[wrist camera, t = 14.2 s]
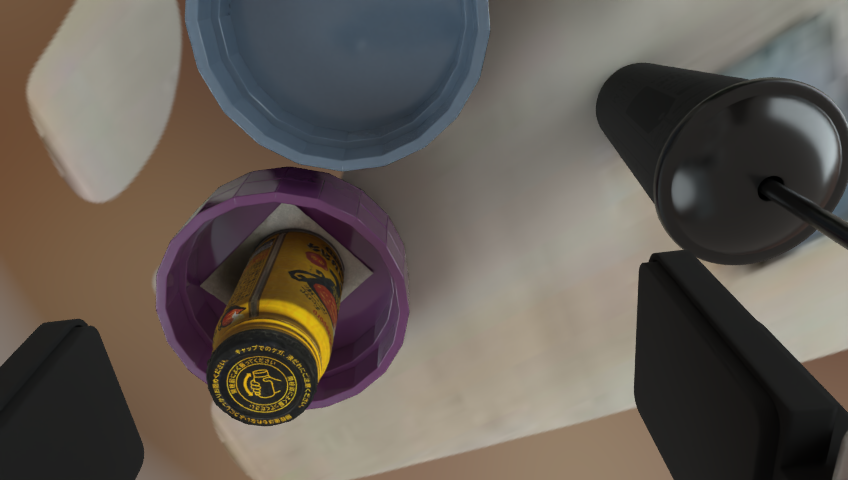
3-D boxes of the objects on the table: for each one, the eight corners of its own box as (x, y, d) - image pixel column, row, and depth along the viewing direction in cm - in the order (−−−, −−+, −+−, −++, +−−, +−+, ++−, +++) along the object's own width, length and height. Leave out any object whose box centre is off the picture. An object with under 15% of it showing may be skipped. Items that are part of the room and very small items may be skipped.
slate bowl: (182, -113, 32) (145, -126, 27) (464, -153, 31) (474, -173, 27) (250, 159, 37) (229, 186, 33) (488, 128, 37) (500, 151, 33)
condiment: (373, 271, 40) (363, 387, 29) (287, 350, 43) (247, 484, 32) (287, 196, 38) (241, 290, 27) (201, 283, 40) (126, 403, 29)
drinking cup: (577, 178, 39) (734, 372, 20) (565, 52, 35) (736, 149, 17) (701, 154, 38) (974, 330, 20) (700, 25, 35) (1022, 94, 17)
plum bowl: (155, 181, 38) (121, 211, 33) (389, 150, 38) (388, 177, 33) (217, 375, 44) (195, 423, 39) (420, 350, 43) (422, 395, 39)
